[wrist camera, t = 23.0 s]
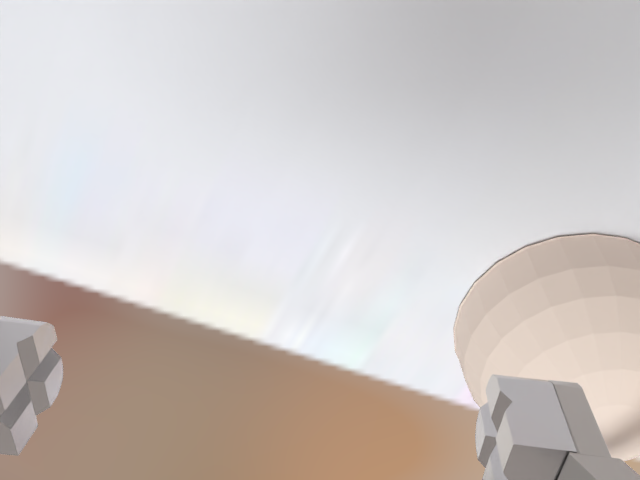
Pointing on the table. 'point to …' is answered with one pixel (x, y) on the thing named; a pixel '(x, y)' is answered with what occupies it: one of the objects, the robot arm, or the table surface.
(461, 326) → the beige deep bowl
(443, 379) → the table surface
